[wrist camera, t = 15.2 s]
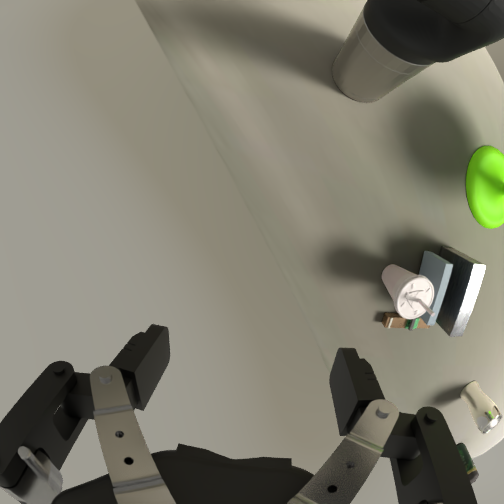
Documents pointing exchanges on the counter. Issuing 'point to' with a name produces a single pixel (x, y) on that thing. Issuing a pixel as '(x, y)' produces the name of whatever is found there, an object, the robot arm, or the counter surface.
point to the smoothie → (408, 291)
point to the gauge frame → (450, 295)
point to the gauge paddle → (434, 283)
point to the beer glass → (481, 407)
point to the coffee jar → (468, 463)
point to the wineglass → (486, 186)
